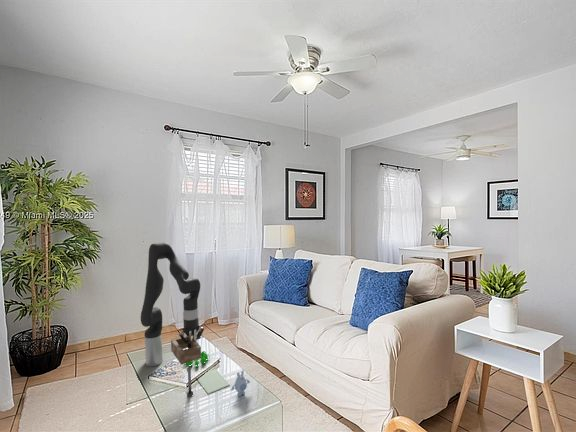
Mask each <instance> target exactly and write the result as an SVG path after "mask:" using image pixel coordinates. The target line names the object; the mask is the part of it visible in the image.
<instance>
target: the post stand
mask: <svg viewBox="0 0 576 432" xmlns="http://www.w3.org/2000/svg"><path fill="white" fill-rule="evenodd" d="M186 370H187V371H186V372H187V383H188V385H187V386H188V387H187V389H188V391H187V392H186V396H187V397H188V398H191V397H193V396H194V391H192V372H191V371H192V368H191V367H187V369H186ZM192 395H193V396H192ZM190 396H191V397H190Z"/></svg>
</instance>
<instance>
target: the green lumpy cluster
mask: <svg viewBox="0 0 576 432" xmlns="http://www.w3.org/2000/svg"><path fill="white" fill-rule="evenodd" d="M206 359H210V355H209V354H208V353H206V351H205V350H203V351H201V358H200V359H197V360H194V361H191V362H188V363H187V364H186V366H187V367H188V365H191V364H192V363H193V364H194V366H195V365H197V366H198V364H199V365H200V360H201V361H202V363H203V364H204V362H208V360H206ZM202 363H201V364H202ZM198 367H199V366H198Z"/></svg>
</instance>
